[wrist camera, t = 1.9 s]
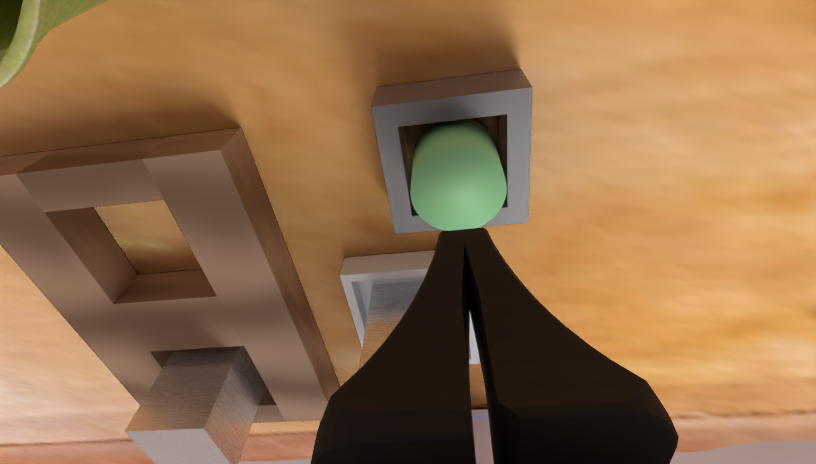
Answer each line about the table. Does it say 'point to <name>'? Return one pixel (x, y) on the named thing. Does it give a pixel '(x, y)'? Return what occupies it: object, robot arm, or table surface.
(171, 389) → the seated billet
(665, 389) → the table surface
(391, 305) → the billet
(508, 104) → the button housing
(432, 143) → the button
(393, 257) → the shallow grey tray
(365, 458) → the robot arm
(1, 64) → the plant pot
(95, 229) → the board
